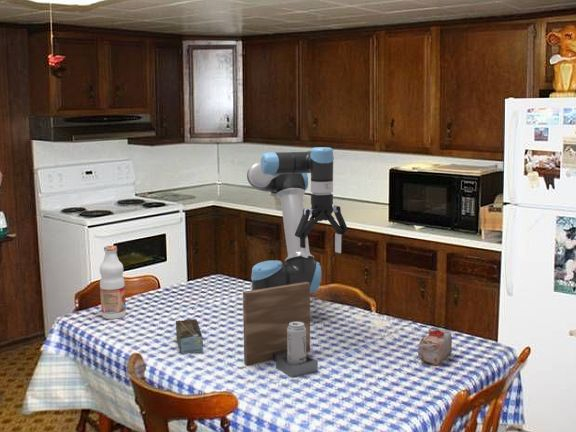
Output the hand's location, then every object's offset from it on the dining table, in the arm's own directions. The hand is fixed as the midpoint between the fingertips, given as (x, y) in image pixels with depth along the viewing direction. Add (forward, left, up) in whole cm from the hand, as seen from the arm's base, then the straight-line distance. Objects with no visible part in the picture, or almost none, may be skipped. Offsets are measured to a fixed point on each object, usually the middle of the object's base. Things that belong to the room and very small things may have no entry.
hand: (321, 254), depth 240 cm
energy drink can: (+16, -20, -32) cm, 41 cm away
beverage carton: (-23, -40, -32) cm, 56 cm away
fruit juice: (-69, -53, -32) cm, 93 cm away
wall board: (+4, -20, -32) cm, 38 cm away
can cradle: (+13, -20, -32) cm, 40 cm away
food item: (+32, +24, -32) cm, 51 cm away
